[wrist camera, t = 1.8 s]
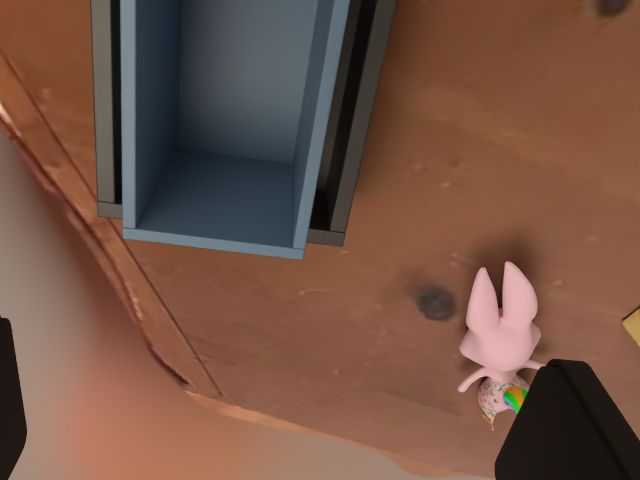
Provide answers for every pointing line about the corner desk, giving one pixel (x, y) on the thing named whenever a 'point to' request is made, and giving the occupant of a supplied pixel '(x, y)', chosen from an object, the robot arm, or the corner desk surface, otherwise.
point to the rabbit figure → (501, 340)
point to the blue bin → (226, 119)
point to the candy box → (633, 325)
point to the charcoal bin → (342, 130)
